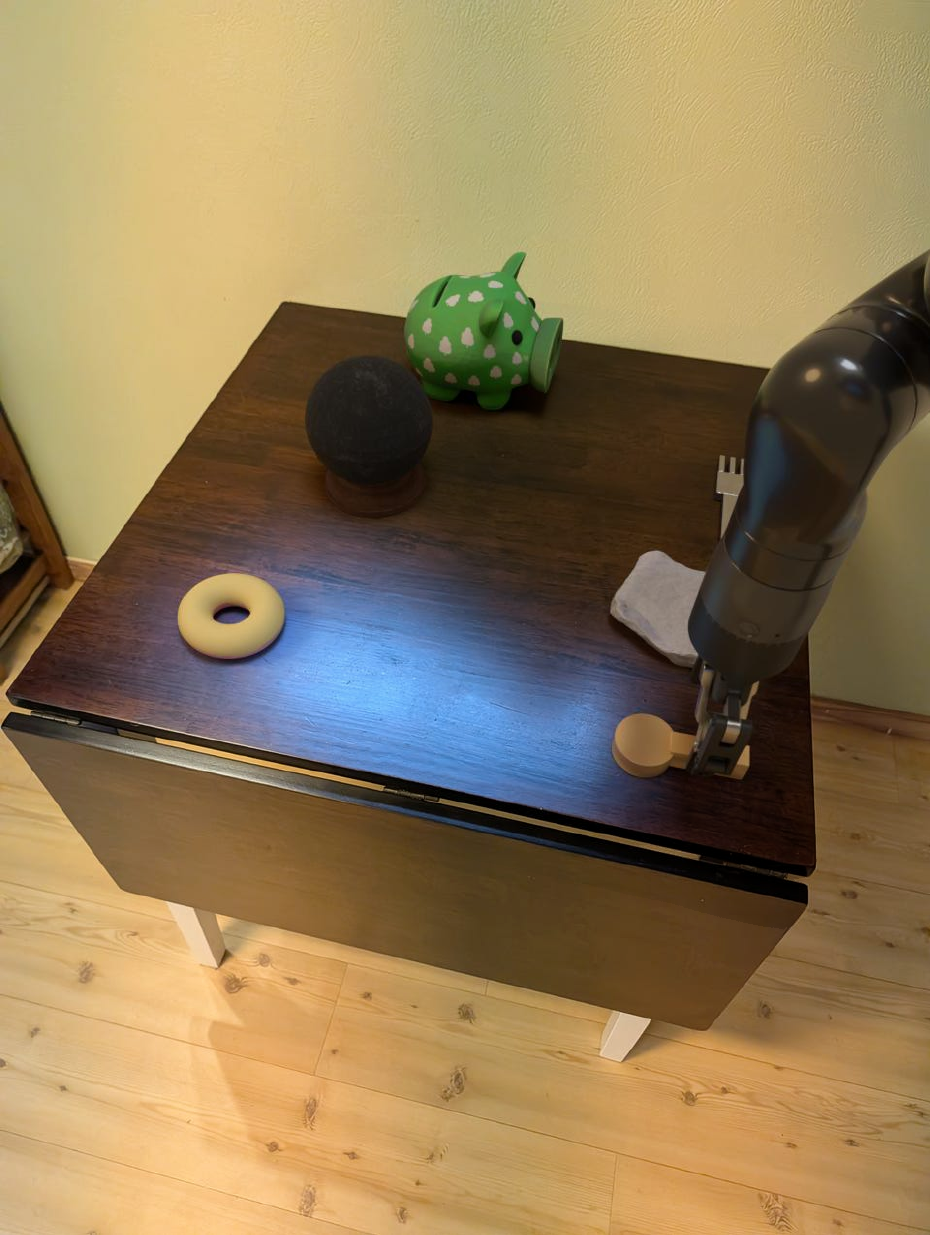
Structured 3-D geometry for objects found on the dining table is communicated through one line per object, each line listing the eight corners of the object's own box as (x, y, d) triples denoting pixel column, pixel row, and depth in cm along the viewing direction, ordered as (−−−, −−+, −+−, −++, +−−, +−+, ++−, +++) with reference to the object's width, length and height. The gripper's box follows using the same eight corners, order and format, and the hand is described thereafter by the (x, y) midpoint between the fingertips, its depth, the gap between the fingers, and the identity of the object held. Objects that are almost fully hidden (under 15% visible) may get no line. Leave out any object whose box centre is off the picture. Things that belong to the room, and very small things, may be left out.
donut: (253, 687, 79) (305, 610, 83) (246, 667, 75) (301, 587, 79) (162, 641, 80) (218, 567, 85) (151, 619, 76) (210, 543, 80)
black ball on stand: (430, 526, 90) (426, 411, 78) (307, 522, 90) (285, 406, 78) (438, 446, 98) (435, 331, 86) (325, 442, 98) (307, 327, 87)
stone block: (708, 692, 79) (752, 610, 82) (715, 669, 75) (760, 584, 78) (595, 639, 83) (640, 564, 87) (595, 614, 79) (643, 537, 83)
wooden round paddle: (742, 743, 73) (749, 729, 72) (741, 797, 70) (749, 783, 68) (614, 720, 75) (618, 705, 73) (608, 771, 72) (612, 757, 70)
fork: (740, 557, 87) (743, 549, 86) (709, 551, 88) (712, 543, 87) (744, 467, 96) (747, 459, 95) (716, 462, 97) (718, 454, 96)
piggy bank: (538, 435, 99) (549, 321, 88) (392, 409, 102) (384, 294, 91) (561, 367, 108) (574, 254, 96) (425, 344, 111) (422, 232, 99)
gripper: (824, 694, 51) (747, 813, 63) (813, 529, 59) (747, 662, 72) (697, 671, 51) (647, 793, 64) (705, 511, 60) (659, 647, 73)
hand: (700, 724), depth 68 cm, fingers open, 8 cm apart
